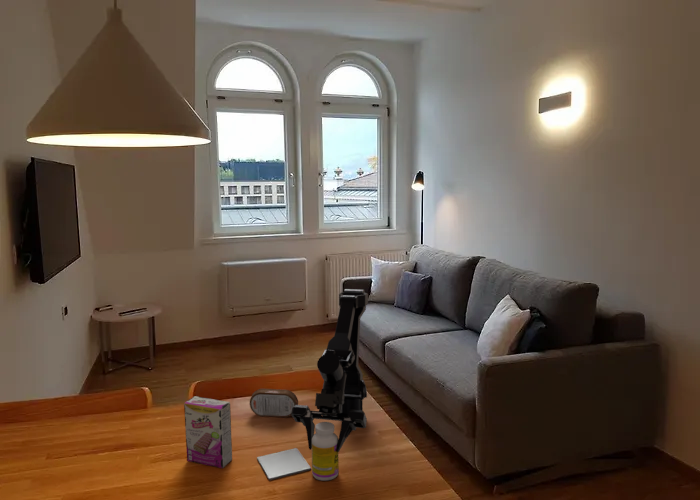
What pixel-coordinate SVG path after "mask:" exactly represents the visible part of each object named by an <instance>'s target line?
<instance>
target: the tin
mask: <svg viewBox="0 0 700 500" xmlns="http://www.w3.org/2000/svg"><path fill="white" fill-rule="evenodd" d="M295 405H299V399H298V396H296V394H295V393H294V392H292V391H291V390H288V389H281V388H280V389H276V388H275V389H274V388H259V389H256V390H255V391H253V393H252V395H251V397H250V399H249V408H250V410H251V412H253V413H254V414H255V415H257V416H259V417H265V418H266V417H268V418H269V417H270V418H271V417H272V418H289V417H292V415H291V411H292V408H293V407H294V406H295Z"/></svg>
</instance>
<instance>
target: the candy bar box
mask: <svg viewBox="0 0 700 500" xmlns="http://www.w3.org/2000/svg"><path fill="white" fill-rule="evenodd" d="M183 407H184V409H183V410H184V427H185V428H184V429H185V443H186V444H185V445H186V462H191V463H195V464H196V463H197V464H198V465H199V464H201V465H205V466H209V467H215V468H220V469H224V468H225V467H226V466H227V465H228V464H229V463H230V462H231V461H232V460H233V445H232V444H233V443H232V442H233V441H232V415H231V414H232V413H231V402H230V401H227V400H226V401H225V400H219V399H213V398H208V397H201V396H197V395H196V396H193V397H191V398H190V399H188V400H186V401H185V402H184V403H183Z"/></svg>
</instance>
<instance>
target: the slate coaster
mask: <svg viewBox="0 0 700 500" xmlns="http://www.w3.org/2000/svg"><path fill="white" fill-rule="evenodd" d="M256 459H257V461H258V463H259V465H260V467H261V468H262V470H263V473H264V474H265V476H266V477H267V479H268V481H273V480H277V479H281V478H283V477H284V478H285V477H289V476H292V475H296V474H300V473H304V472H307V471H312V466H311V465H309V463H308V462H307V460H306V459H305V458H304V456H303V454H302V453H301V452H300V450H299V449H298V447H294V448H291V449H285V450H282V451H278V452H274V453H269V454H265V455H264V454H263V455H260V456H257V457H256Z"/></svg>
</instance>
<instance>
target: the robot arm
mask: <svg viewBox="0 0 700 500" xmlns="http://www.w3.org/2000/svg"><path fill="white" fill-rule="evenodd" d="M365 291H366V290H365V289H358V288H357V289H356V288H355V289H353V288H345V289H344V290H343V292H339V294H338V306H339V312H338V316H337V320H336V325H335V326H336V327H335V331H334V335H333V337H331V338H330V339H329V340H328V343H327V347H326V348H325V349H324V351H323V353H322V355H321V356H320V357H319V358H318V360H317V362H316V367H317V369H318V372H319V374H320V376H321V378H322V380H323V384H322V388H321V391H320V392H319V393H318V392H316V394H315V400H314V401H315V404H314V407H316V409H317V410H311V409H310V407H309V405H303V404H298V405H295V406H294V407H293V408H292V411H291V417H292V418H293V420H294V422H296V423H302V425H303V426H304V427H305V431H306V437H307V438H306V439H307V443H308V449H309V450H310V451H312V437H313V435H314V434H315V426H316V424H315V422H314V419H315V420H326V421H336V422H341V423H340V424H341V425H340V431H339V436H338V443H337V450H336V451H337V452H338V453H339V452H341V449H342V447H343V446H344V444H345V442H346V440H347V438H348V437H349V435H350V434H351V433H352V432H353V431H354V432H355V431H357V428H359V429H365V428H366V427H367V423H368V422H367V416H366V413H365V412H364V410H363V407H364V406H363V402H364V401H363V400H364V399H365V398H367V397H368V389H367V385H366V382H365V380H364V379H363V378H364V377H363V375H364V374H363V372H362V370H361V368H360V365H359V352H360V351H359V350H360V334H361V333H360V330H361V317H362V316H363V315H364V313H365V312H366V309H367V306H368V304H369V293H367V292H365Z"/></svg>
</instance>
